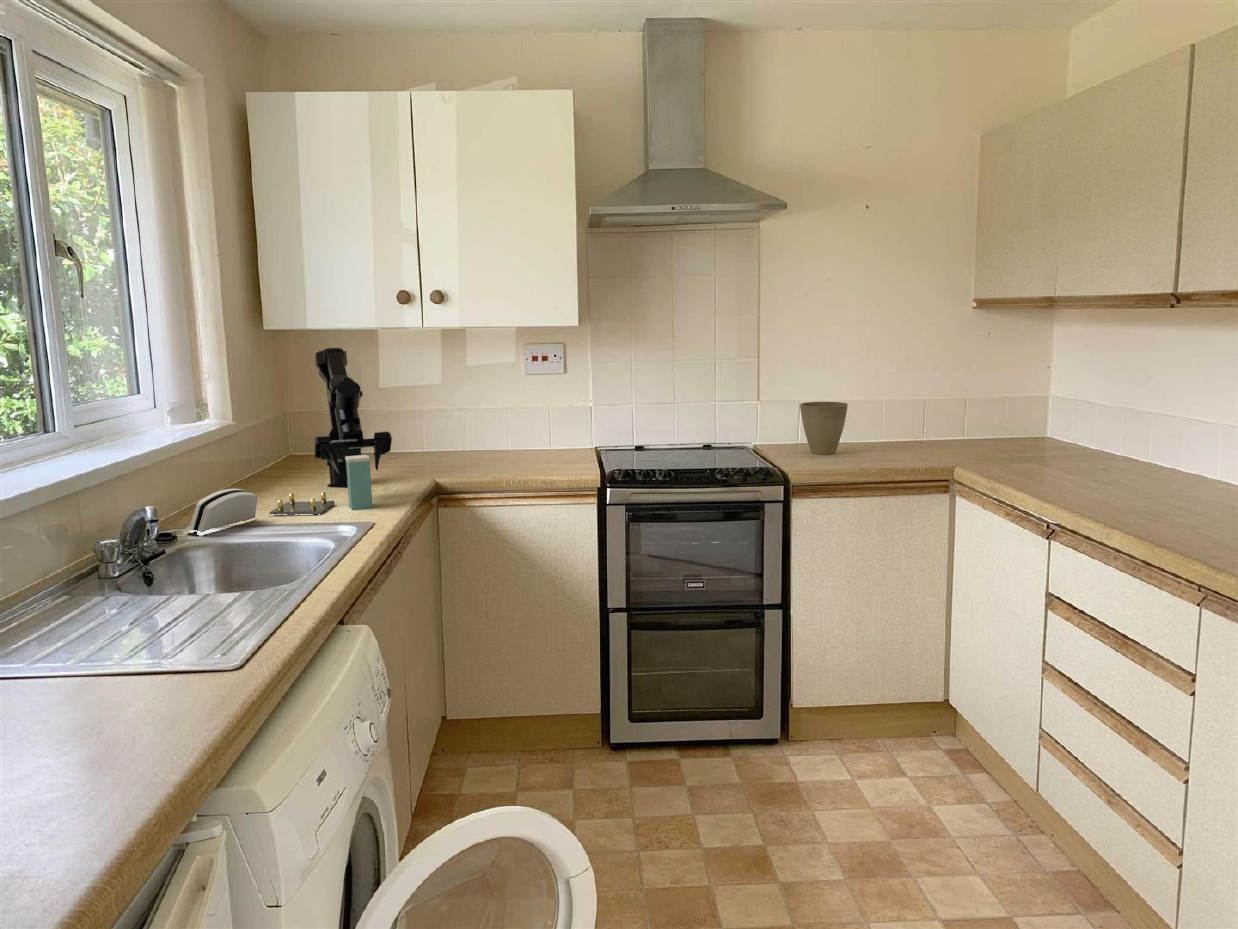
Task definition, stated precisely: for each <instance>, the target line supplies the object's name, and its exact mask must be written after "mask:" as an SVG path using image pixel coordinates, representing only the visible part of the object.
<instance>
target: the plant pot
mask: <svg viewBox="0 0 1238 929" xmlns="http://www.w3.org/2000/svg"><path fill="white" fill-rule="evenodd" d="M848 406H849V405H848V403H847V402H841V401H809V402H801V403H800V404H799V407H800V408H799V410H800V414H801V421H802V426H803V430H804V433H805V437H806V441H807V444H808V447H809V449H810V453H811V454H813V455H819V456H828V455H834V454H836V451H837V449H838V446H839V443H840V441H841V438H842V434H843V430H844V427H845V423H846V418H847V411H848V410H847V409H848Z"/></svg>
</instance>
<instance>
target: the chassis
mask: <svg viewBox="0 0 1238 929" xmlns="http://www.w3.org/2000/svg"><path fill="white" fill-rule="evenodd" d="M320 498H321V499H320V500H318V501H317V500H316V498H310V500H309V501H296V500H295V494H294V492H291V493H288V499H289V501H286V502H285V503H284V502H283V499H277V500H276V501H277V507H276V508H274V509H273V510H271V511H269V515H270V514H275V515H276V514H281V515H282V514H287V515H295V514H298V515H299V514H320V515H322V514H323V513H325V512H326V511H327V510H326V509H328V510H329V509H331V508H332V507H334V506H335V505H334V504H335V500H327V494H326V492H321V493H320ZM333 505H334V506H333ZM330 507H331V508H330ZM325 510H326V511H325ZM324 511H325V512H324ZM322 512H323V513H322ZM321 513H322V514H321Z"/></svg>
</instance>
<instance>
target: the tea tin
mask: <svg viewBox="0 0 1238 929" xmlns="http://www.w3.org/2000/svg"><path fill="white" fill-rule="evenodd" d="M345 460H346V470H347V484H348V487H347V495H348V506H349V508H350V509H351V511H355V510H357V509H358V510H366V509H373V508H374V506H373V505H374V504H373V491H372V479H371V478H372V477H371V463H370V462H371V459H370V456H369V455H367V454H361V455H357V456H345ZM358 510H357V511H358Z"/></svg>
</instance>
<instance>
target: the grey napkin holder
mask: <svg viewBox="0 0 1238 929" xmlns="http://www.w3.org/2000/svg"><path fill="white" fill-rule="evenodd" d="M257 503H258V497H257V496H256V494H254V493H253V492H250V491H249V490H246V489H243V488H242V489H241V488H228V489H227V488H226V489H222V490H218V491H216V492H213V493H211V494H209V495H207V496H205V497H203V498H202V499H200V500H199V501H198V502H197V503H196V505H195V508H194V511H193V515H192V519H191V522H190V524H189V526H187V527H185V530H197V531H200V532H204V531H206V530H209V529H211V528H218V527H222V526H225V525H229V524H233V523H237V522H240V521H246V520H249V519H252V518H255V519H256V514H257V513H256V512H257Z"/></svg>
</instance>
